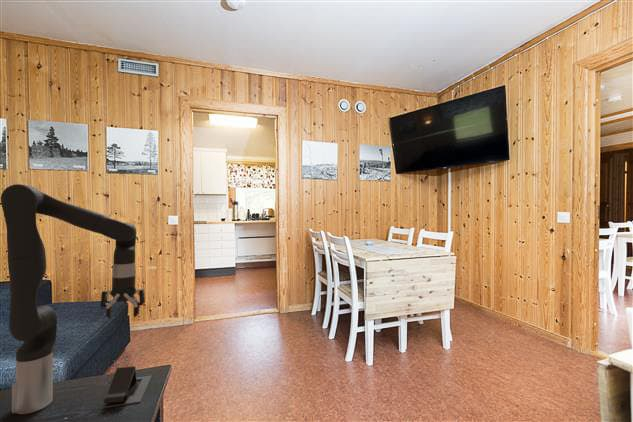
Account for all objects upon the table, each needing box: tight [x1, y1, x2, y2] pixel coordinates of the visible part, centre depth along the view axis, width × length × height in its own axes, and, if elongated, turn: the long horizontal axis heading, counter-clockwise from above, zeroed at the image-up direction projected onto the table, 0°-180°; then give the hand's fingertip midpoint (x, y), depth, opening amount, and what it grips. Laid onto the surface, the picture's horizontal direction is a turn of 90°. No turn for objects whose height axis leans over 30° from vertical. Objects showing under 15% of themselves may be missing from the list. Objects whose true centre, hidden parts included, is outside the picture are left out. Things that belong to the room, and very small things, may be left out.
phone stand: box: [103, 365, 138, 407], centre depth 107 cm, size 9×6×12 cm
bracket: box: [103, 375, 152, 409], centre depth 111 cm, size 11×17×1 cm, turn 17°
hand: (122, 316), depth 115 cm, fingers open, 8 cm apart
